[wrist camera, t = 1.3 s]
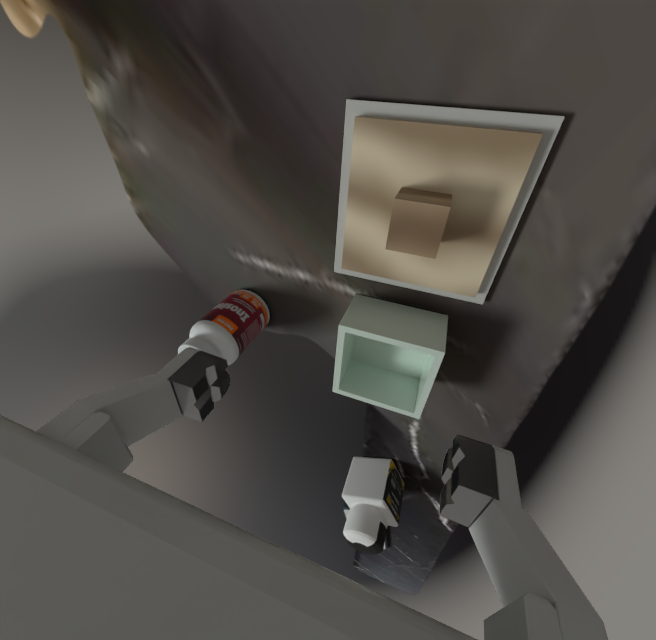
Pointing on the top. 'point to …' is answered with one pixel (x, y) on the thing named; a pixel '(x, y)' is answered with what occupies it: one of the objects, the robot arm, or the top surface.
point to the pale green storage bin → (389, 354)
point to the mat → (451, 116)
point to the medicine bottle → (371, 502)
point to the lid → (431, 199)
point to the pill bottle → (230, 326)
